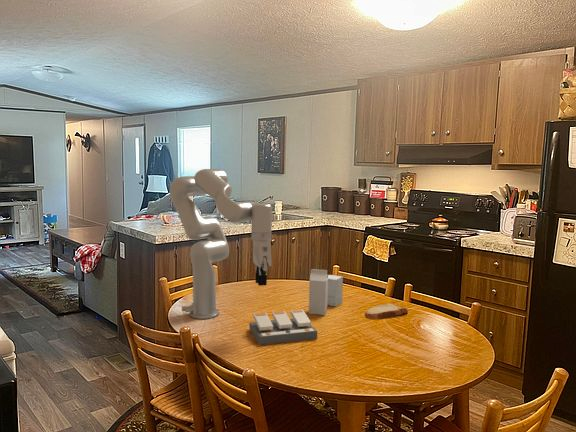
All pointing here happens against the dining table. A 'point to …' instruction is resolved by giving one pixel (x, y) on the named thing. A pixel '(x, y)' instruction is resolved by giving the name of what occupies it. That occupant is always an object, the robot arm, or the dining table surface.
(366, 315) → the slice of bread
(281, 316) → the switch middle
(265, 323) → the switch left
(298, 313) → the switch right
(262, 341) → the switch unit
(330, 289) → the supplement box
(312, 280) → the milk carton
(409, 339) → the dining table surface
